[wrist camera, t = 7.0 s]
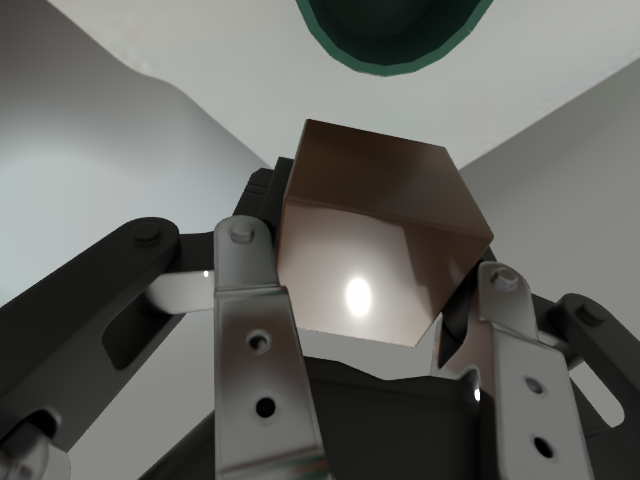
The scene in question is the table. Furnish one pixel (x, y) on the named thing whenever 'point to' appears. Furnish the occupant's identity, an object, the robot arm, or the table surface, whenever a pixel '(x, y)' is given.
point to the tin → (390, 31)
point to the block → (374, 234)
